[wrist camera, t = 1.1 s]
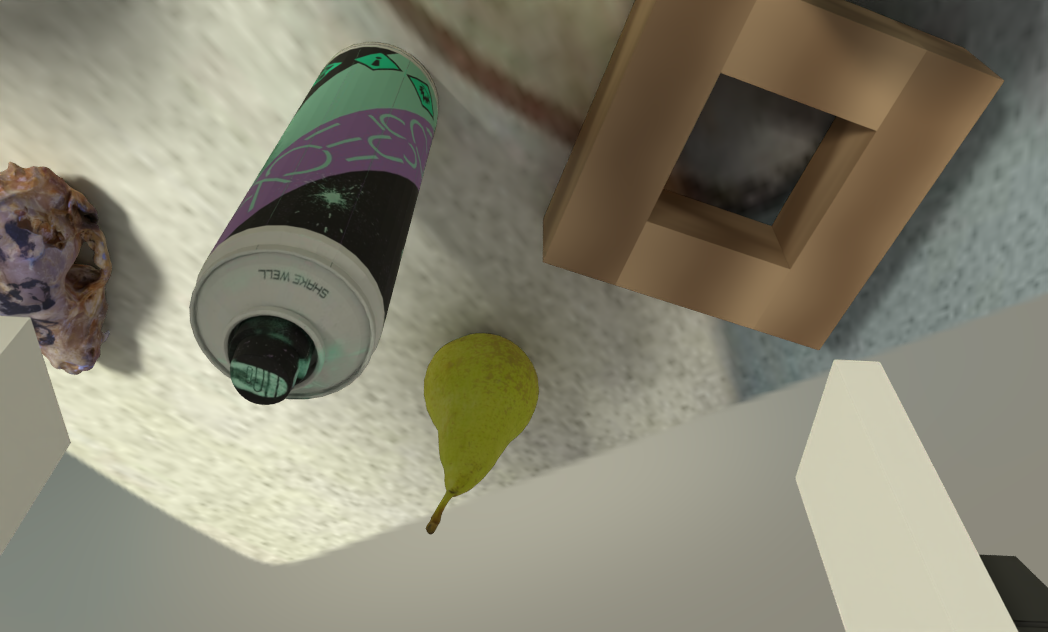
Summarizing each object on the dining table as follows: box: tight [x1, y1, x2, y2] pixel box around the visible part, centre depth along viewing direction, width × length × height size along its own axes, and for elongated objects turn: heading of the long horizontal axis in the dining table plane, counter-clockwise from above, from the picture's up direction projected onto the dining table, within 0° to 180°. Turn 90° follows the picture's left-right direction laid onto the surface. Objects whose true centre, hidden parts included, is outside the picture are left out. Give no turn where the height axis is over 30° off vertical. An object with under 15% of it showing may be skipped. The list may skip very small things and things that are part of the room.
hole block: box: [543, 0, 1004, 350], centre depth 39 cm, size 14×14×4 cm
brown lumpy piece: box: [0, 162, 112, 375], centre depth 42 cm, size 12×8×6 cm, turn 178°
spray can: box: [189, 42, 439, 405], centre depth 32 cm, size 6×6×20 cm
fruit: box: [424, 333, 539, 534], centre depth 43 cm, size 6×6×12 cm
